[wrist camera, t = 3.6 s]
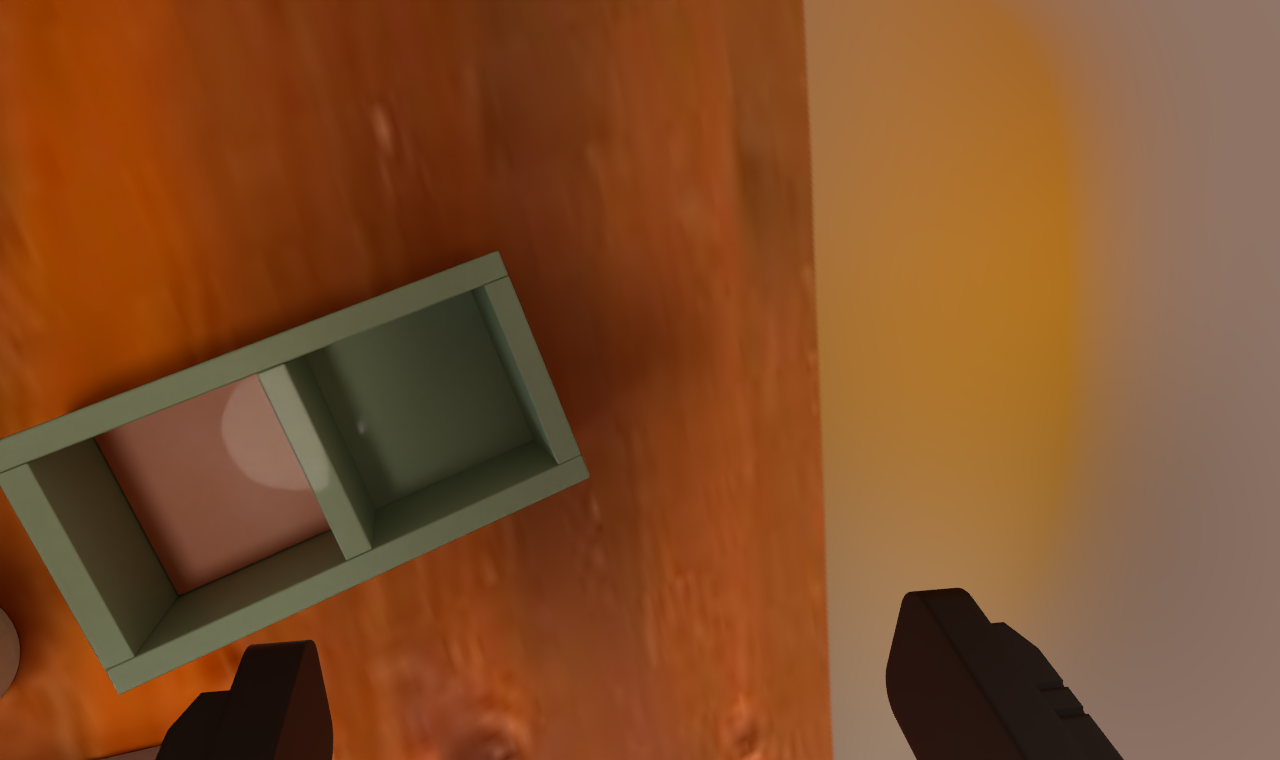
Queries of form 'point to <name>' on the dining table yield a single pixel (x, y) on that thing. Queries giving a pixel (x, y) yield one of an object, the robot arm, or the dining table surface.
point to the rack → (291, 468)
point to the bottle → (8, 652)
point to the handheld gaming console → (138, 755)
